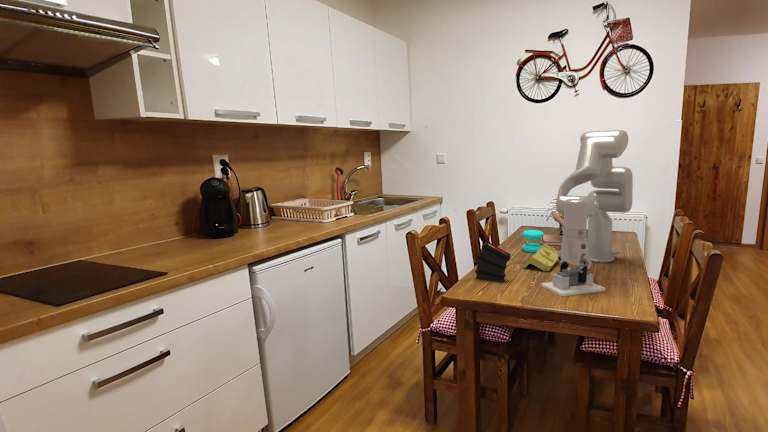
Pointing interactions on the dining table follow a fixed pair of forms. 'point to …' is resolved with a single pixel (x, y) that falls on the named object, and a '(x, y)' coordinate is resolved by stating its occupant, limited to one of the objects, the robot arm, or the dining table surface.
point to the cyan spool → (534, 236)
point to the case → (553, 238)
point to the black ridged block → (492, 263)
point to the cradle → (562, 286)
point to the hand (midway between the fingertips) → (572, 278)
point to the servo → (571, 275)
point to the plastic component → (543, 258)
